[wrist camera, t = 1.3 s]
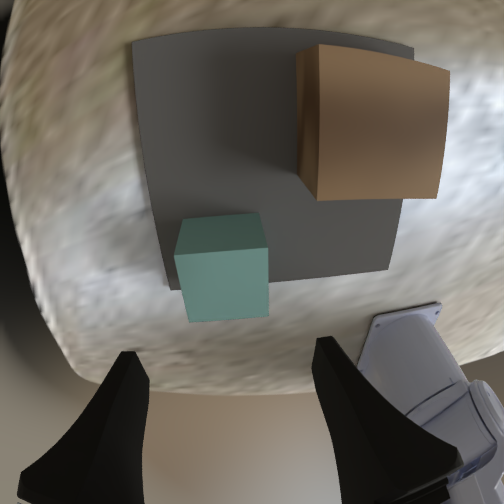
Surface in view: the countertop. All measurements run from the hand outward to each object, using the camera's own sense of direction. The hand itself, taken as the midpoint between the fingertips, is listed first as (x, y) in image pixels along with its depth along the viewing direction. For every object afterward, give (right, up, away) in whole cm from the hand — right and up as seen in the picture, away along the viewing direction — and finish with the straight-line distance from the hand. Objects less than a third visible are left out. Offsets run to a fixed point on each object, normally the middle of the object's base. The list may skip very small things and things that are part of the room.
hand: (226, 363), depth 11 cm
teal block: (-1, +5, +7) cm, 9 cm away
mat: (+3, +9, +5) cm, 11 cm away
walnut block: (+7, +12, +4) cm, 14 cm away
